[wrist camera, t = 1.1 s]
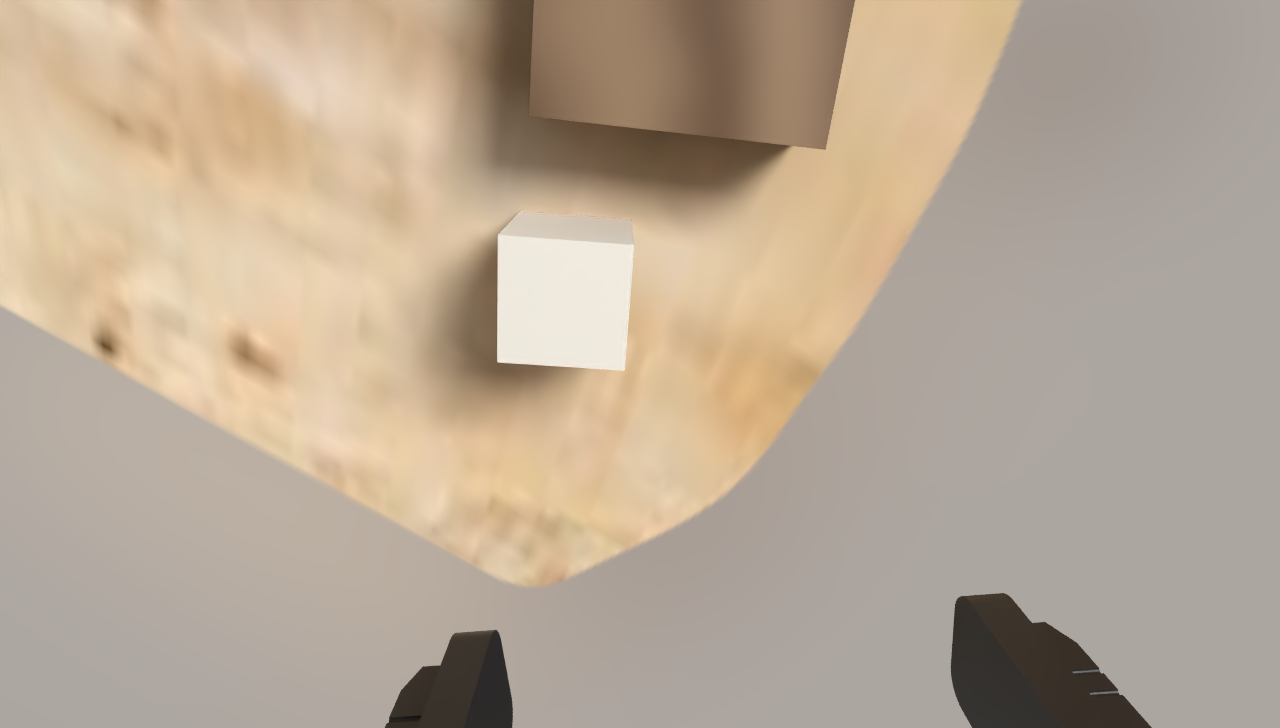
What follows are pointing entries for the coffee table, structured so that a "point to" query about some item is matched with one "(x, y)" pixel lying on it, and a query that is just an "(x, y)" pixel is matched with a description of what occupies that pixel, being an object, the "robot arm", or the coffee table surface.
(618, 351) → the cream block
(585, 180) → the coffee table surface
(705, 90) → the walnut block
